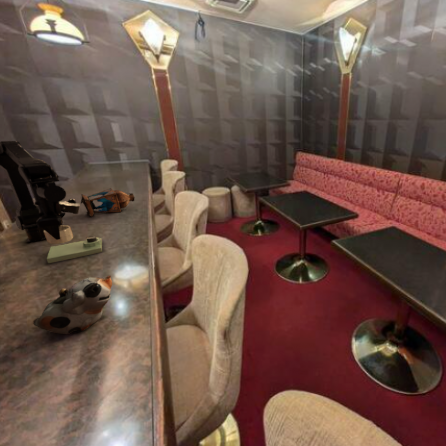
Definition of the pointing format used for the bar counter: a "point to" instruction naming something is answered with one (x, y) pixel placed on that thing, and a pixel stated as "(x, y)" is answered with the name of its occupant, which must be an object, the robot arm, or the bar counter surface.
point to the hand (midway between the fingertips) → (59, 235)
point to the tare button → (91, 239)
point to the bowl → (64, 235)
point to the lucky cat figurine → (76, 306)
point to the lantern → (107, 201)
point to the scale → (74, 250)
